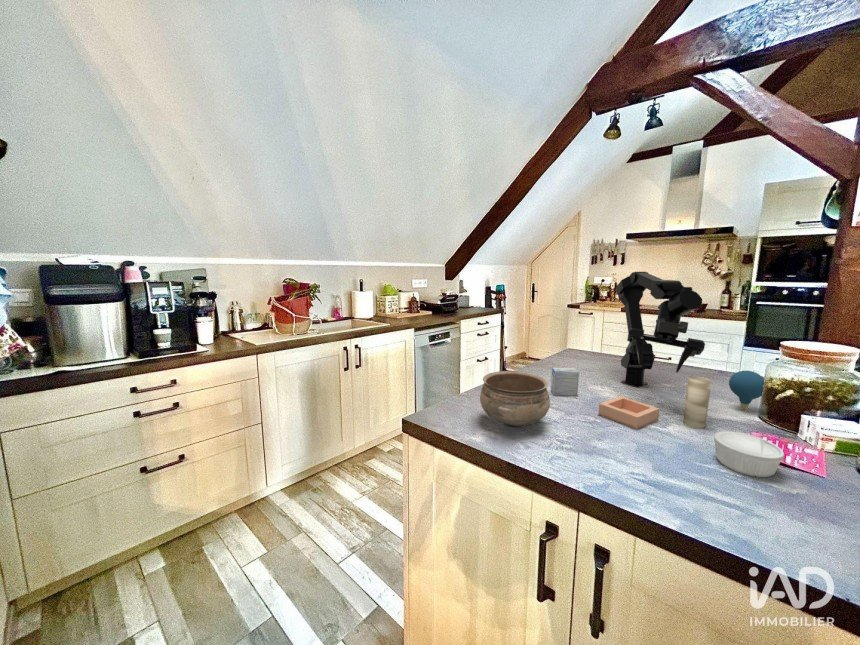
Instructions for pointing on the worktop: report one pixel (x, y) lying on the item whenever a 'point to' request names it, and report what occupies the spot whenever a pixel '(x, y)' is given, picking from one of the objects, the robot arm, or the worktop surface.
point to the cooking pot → (515, 397)
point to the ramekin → (747, 453)
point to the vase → (697, 402)
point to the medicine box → (564, 381)
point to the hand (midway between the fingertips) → (658, 368)
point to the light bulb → (746, 386)
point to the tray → (628, 412)
